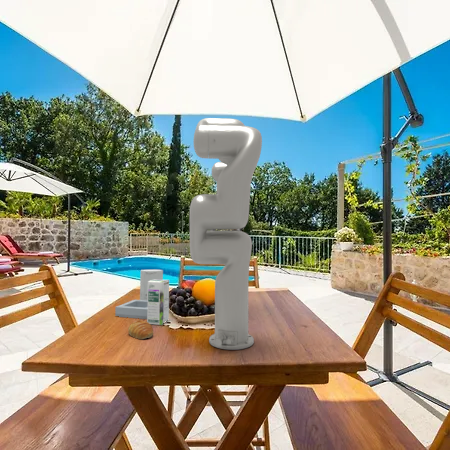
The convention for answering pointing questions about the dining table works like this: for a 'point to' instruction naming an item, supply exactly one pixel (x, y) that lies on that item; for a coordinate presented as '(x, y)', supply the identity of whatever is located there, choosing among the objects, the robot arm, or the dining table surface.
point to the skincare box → (147, 276)
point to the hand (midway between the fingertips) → (225, 241)
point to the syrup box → (158, 302)
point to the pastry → (140, 329)
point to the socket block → (132, 309)
